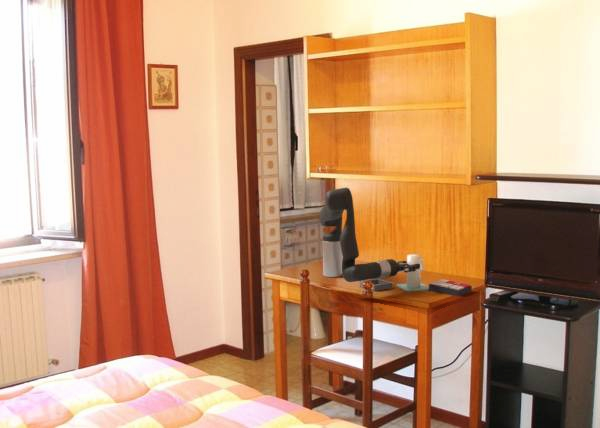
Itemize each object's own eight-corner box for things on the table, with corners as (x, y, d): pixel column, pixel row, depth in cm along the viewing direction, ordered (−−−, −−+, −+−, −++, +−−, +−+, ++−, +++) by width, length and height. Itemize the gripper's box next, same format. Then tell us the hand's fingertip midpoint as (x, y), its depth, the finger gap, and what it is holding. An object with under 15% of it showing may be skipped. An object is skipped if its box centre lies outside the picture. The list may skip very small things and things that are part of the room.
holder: (374, 291, 301) (374, 285, 301) (359, 286, 310) (359, 281, 309) (392, 288, 307) (392, 282, 306) (377, 283, 315) (377, 278, 315)
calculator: (459, 288, 290) (428, 282, 300) (458, 298, 290) (428, 291, 300) (472, 284, 298) (442, 277, 308) (471, 294, 298) (441, 287, 308)
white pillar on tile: (413, 288, 302) (413, 256, 301) (404, 286, 308) (404, 255, 306) (426, 286, 307) (427, 255, 305) (417, 283, 312) (418, 253, 310)
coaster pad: (396, 285, 311) (396, 284, 311) (421, 284, 314) (421, 282, 314) (406, 291, 300) (406, 290, 300) (431, 289, 302) (431, 288, 302)
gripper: (395, 262, 290) (424, 258, 299) (374, 257, 302) (402, 253, 311) (395, 280, 291) (423, 275, 300) (374, 274, 303) (402, 270, 311)
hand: (412, 264), depth 305 cm, fingers open, 8 cm apart
